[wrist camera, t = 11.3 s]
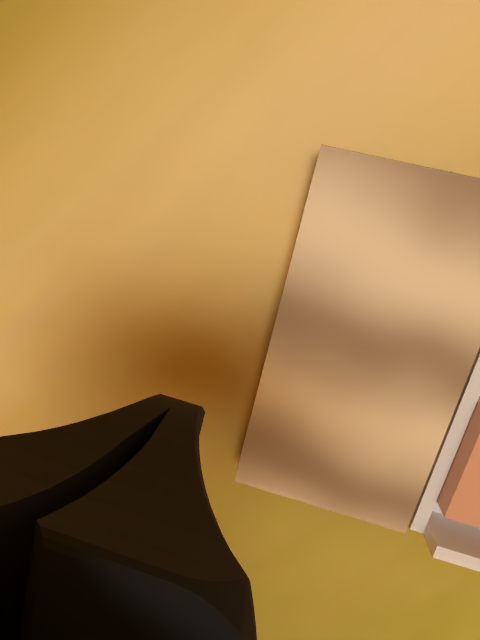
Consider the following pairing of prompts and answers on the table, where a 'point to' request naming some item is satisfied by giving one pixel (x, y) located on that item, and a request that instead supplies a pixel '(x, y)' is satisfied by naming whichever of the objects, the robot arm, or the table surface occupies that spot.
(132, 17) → the table surface
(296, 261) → the board
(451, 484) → the tile terracotta
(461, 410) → the tray
